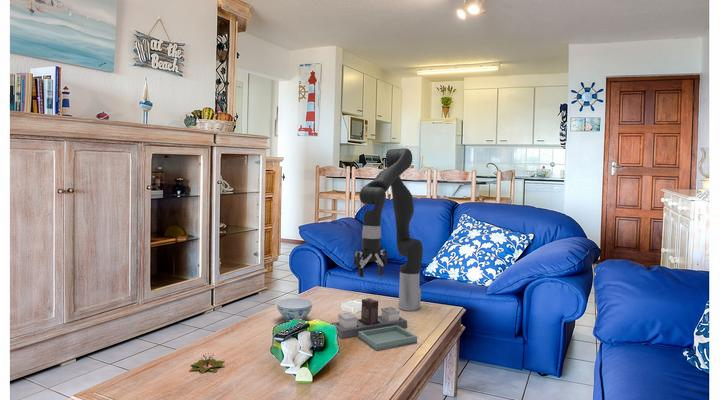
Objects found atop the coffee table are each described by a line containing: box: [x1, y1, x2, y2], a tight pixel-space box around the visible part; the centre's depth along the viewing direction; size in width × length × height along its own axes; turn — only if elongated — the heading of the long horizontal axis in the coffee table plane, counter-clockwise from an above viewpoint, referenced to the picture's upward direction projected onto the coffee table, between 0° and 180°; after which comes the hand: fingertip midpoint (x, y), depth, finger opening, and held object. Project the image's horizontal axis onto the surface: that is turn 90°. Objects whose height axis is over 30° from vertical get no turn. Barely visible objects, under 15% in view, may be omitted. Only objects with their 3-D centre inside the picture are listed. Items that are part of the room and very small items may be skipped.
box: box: [360, 297, 379, 326], centre depth 196 cm, size 6×4×12 cm
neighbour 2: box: [380, 306, 401, 322], centre depth 201 cm, size 5×6×7 cm
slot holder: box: [330, 315, 408, 340], centre depth 197 cm, size 30×10×3 cm, turn 119°
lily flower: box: [189, 352, 226, 375], centre depth 157 cm, size 12×12×5 cm
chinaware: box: [276, 297, 314, 322], centre depth 204 cm, size 15×15×8 cm
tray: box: [357, 325, 418, 351], centre depth 184 cm, size 18×14×2 cm
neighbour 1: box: [338, 312, 358, 329], centre depth 192 cm, size 5×6×7 cm
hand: (370, 276), depth 195 cm, fingers open, 8 cm apart
